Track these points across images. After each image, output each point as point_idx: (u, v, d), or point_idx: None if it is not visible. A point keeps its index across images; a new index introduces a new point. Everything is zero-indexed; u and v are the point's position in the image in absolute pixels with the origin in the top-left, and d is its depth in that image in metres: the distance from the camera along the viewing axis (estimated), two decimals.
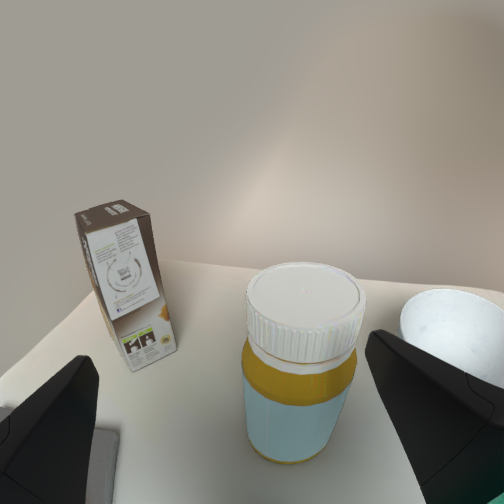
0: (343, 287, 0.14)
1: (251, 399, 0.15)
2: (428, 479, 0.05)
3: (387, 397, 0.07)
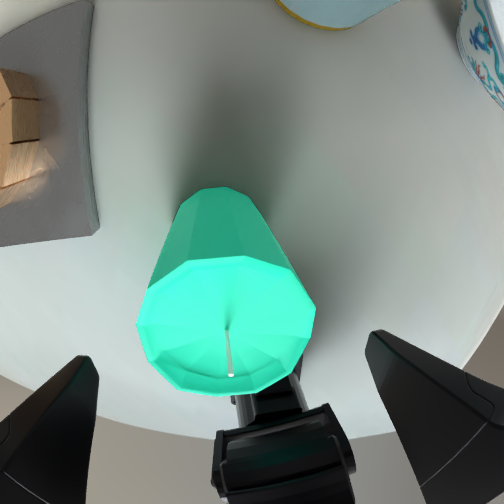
0: None
1: None
2: (428, 479, 0.05)
3: (387, 397, 0.07)
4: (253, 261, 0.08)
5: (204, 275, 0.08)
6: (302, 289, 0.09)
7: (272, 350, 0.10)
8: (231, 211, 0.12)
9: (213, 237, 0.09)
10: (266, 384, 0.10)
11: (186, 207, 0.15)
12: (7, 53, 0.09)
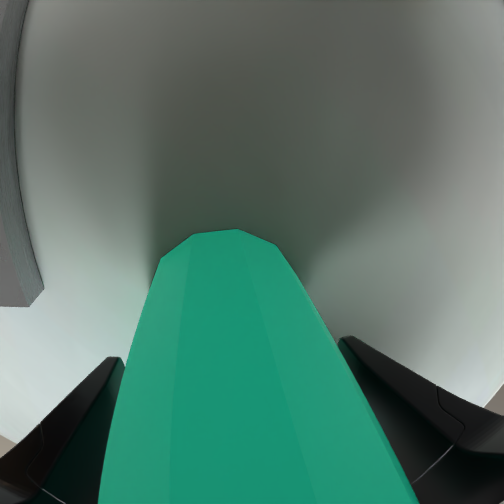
0: None
1: None
2: None
3: None
4: None
5: None
6: None
7: None
8: (267, 342, 0.05)
9: None
10: None
11: (165, 282, 0.08)
12: None
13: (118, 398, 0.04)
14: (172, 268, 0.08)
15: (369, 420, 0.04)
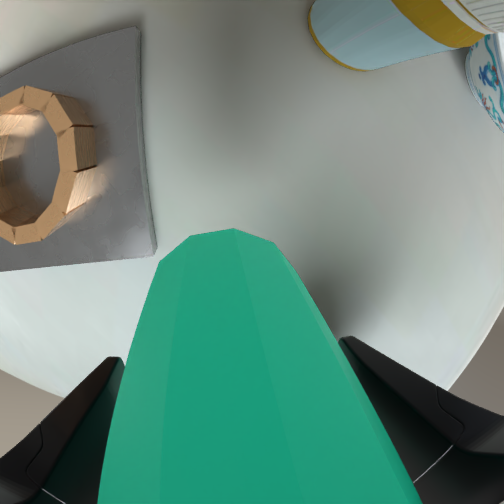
0: None
1: None
2: None
3: None
4: None
5: None
6: None
7: None
8: (258, 342, 0.05)
9: None
10: None
11: (162, 285, 0.08)
12: (51, 74, 0.12)
13: (116, 402, 0.04)
14: (169, 271, 0.08)
15: (365, 419, 0.04)
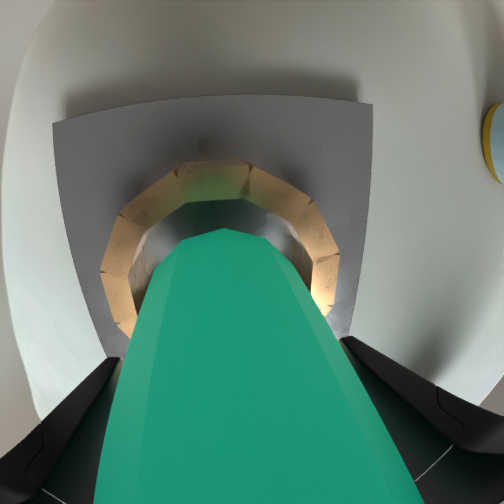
0: None
1: None
2: None
3: None
4: None
5: None
6: None
7: None
8: (237, 344, 0.04)
9: None
10: None
11: (154, 293, 0.08)
12: (247, 134, 0.12)
13: (111, 411, 0.04)
14: (161, 278, 0.08)
15: (353, 419, 0.03)
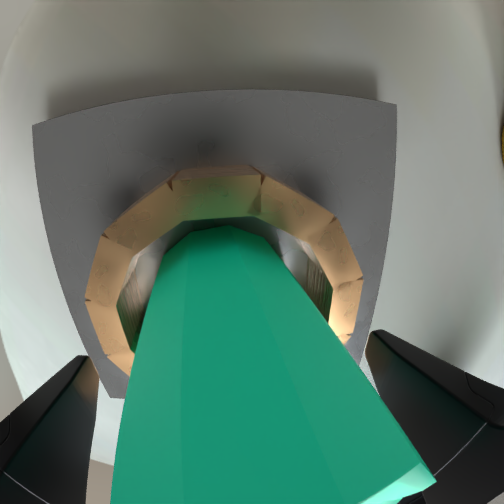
0: None
1: None
2: None
3: (387, 397, 0.07)
4: (361, 501, 0.02)
5: None
6: (427, 473, 0.03)
7: None
8: (255, 297, 0.06)
9: (239, 417, 0.03)
10: None
11: (169, 270, 0.09)
12: (255, 136, 0.10)
13: (135, 357, 0.05)
14: (174, 259, 0.09)
15: (346, 355, 0.05)
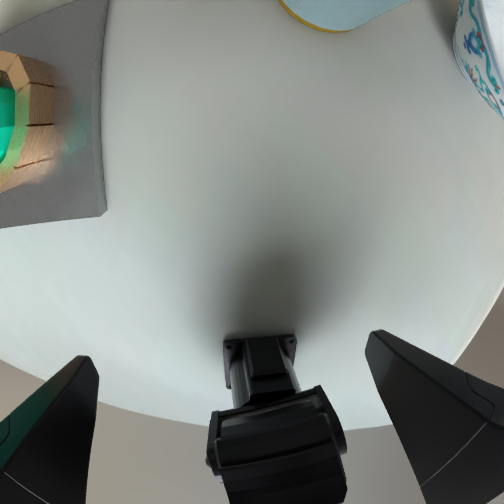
0: None
1: None
2: (429, 479, 0.05)
3: (387, 397, 0.07)
4: None
5: None
6: None
7: None
8: None
9: None
10: None
11: None
12: (23, 41, 0.10)
13: None
14: None
15: None
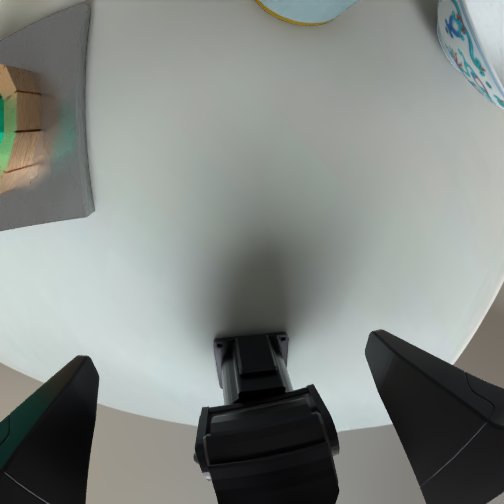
0: None
1: None
2: (429, 479, 0.05)
3: (387, 397, 0.07)
4: None
5: None
6: None
7: None
8: None
9: None
10: None
11: None
12: (12, 52, 0.10)
13: None
14: None
15: None
